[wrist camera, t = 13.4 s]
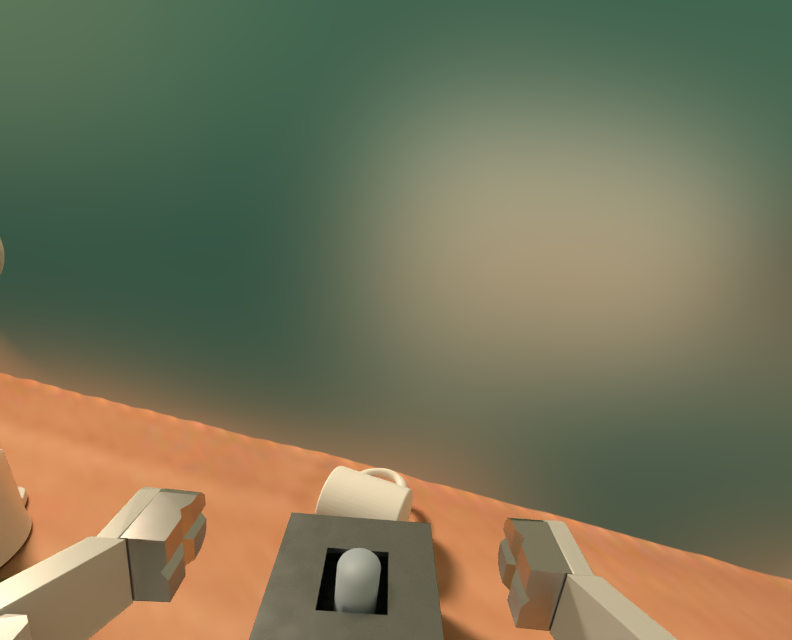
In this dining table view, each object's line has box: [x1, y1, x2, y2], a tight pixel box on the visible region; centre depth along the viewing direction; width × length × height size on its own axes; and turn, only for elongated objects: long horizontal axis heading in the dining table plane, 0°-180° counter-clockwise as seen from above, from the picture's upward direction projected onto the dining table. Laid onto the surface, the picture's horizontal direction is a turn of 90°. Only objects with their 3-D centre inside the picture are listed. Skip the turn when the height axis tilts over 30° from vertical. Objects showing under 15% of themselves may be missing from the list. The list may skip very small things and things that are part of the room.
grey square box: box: [249, 513, 444, 640], centre depth 33 cm, size 14×13×10 cm
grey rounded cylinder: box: [333, 548, 381, 614], centre depth 33 cm, size 4×4×11 cm
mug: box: [315, 466, 413, 522], centre depth 49 cm, size 12×10×8 cm
